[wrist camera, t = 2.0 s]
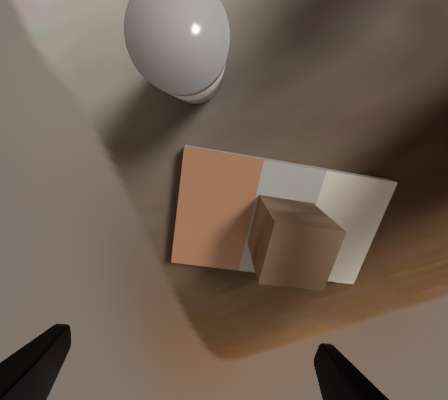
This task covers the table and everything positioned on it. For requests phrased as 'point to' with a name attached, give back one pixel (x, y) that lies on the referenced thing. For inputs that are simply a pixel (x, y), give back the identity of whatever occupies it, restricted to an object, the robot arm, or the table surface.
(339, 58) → the table surface
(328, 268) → the block
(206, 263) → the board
